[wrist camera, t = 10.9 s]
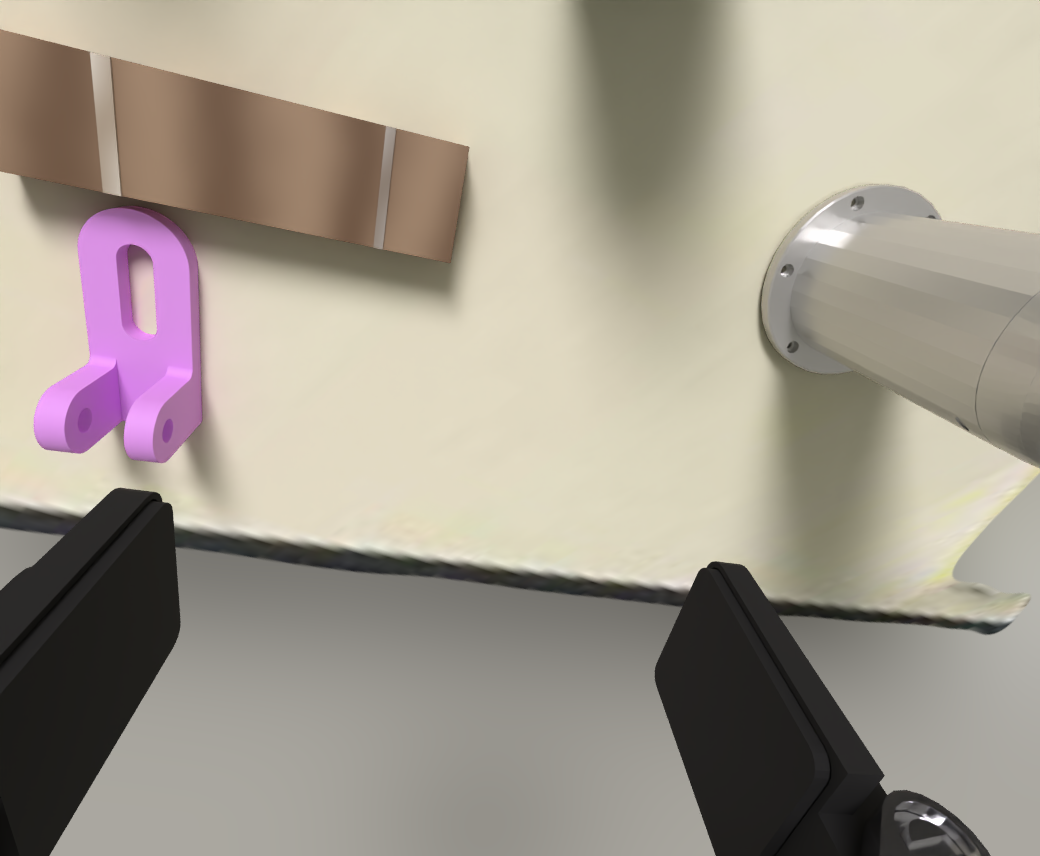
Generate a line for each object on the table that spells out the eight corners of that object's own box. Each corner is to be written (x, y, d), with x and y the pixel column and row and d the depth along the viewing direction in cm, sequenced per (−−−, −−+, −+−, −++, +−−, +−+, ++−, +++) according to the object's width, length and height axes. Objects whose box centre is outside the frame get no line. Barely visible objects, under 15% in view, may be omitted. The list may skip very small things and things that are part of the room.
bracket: (203, 420, 37) (154, 475, 31) (109, 408, 36) (39, 462, 29) (197, 217, 31) (137, 234, 25) (86, 195, 30) (-5, 207, 24)
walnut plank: (466, 147, 31) (469, 146, 28) (449, 254, 34) (450, 263, 31) (-6, 29, 26) (-58, 14, 24) (15, 163, 29) (-30, 165, 26)
